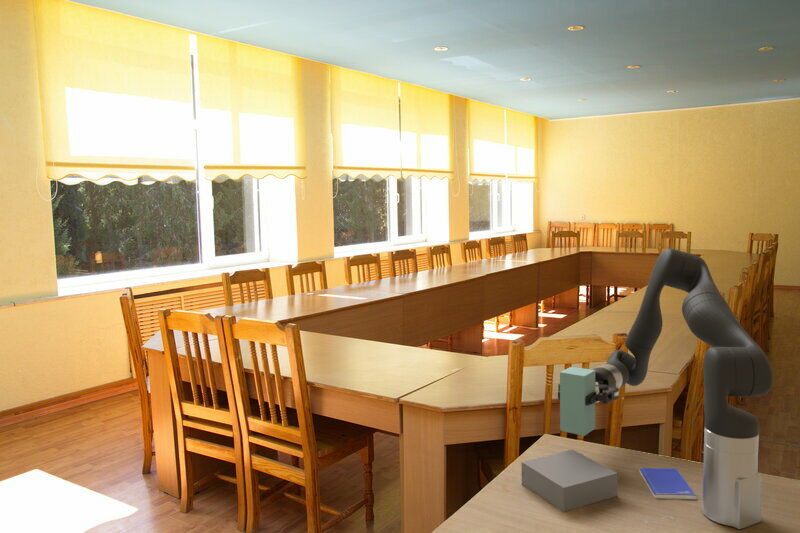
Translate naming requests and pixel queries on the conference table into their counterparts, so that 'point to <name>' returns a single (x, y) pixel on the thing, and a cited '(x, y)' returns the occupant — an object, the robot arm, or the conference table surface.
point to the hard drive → (667, 483)
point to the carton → (576, 400)
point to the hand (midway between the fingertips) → (573, 398)
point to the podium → (569, 479)
